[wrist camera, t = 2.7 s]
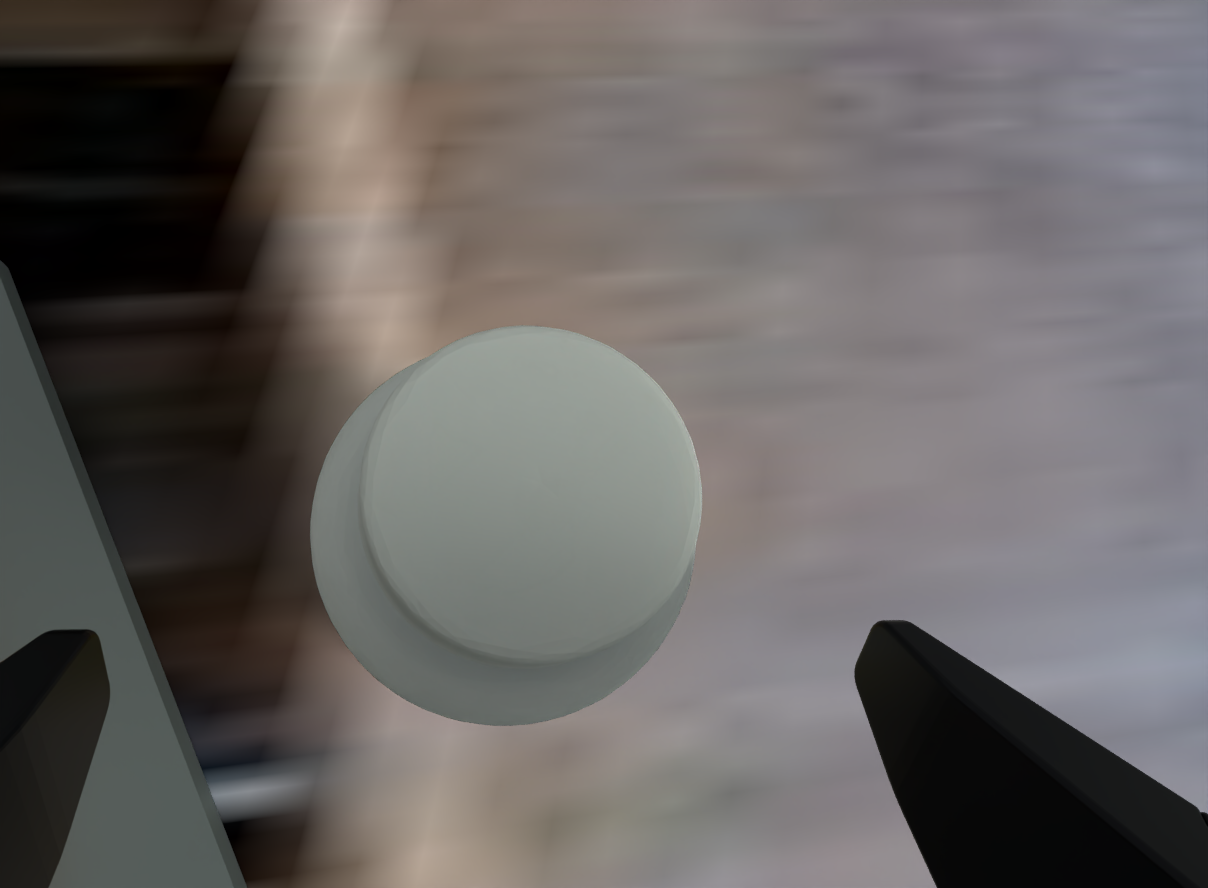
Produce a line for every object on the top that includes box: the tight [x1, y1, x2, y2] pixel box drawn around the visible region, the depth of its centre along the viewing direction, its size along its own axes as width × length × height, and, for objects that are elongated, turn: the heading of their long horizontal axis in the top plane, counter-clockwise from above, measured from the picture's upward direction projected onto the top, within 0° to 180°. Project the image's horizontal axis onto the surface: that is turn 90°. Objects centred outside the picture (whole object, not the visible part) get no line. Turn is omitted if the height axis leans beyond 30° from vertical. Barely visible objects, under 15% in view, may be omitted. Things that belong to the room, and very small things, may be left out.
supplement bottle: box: [310, 325, 702, 726], centre depth 13 cm, size 6×6×10 cm
